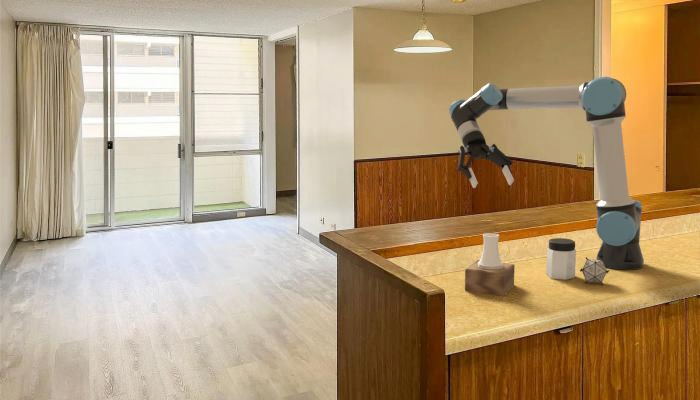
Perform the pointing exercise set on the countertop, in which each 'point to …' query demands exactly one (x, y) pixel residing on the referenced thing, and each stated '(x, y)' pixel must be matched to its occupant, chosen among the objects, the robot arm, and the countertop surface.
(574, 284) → the countertop surface
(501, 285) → the walnut box
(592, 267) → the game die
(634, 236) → the robot arm
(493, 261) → the salt shaker
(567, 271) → the jar
